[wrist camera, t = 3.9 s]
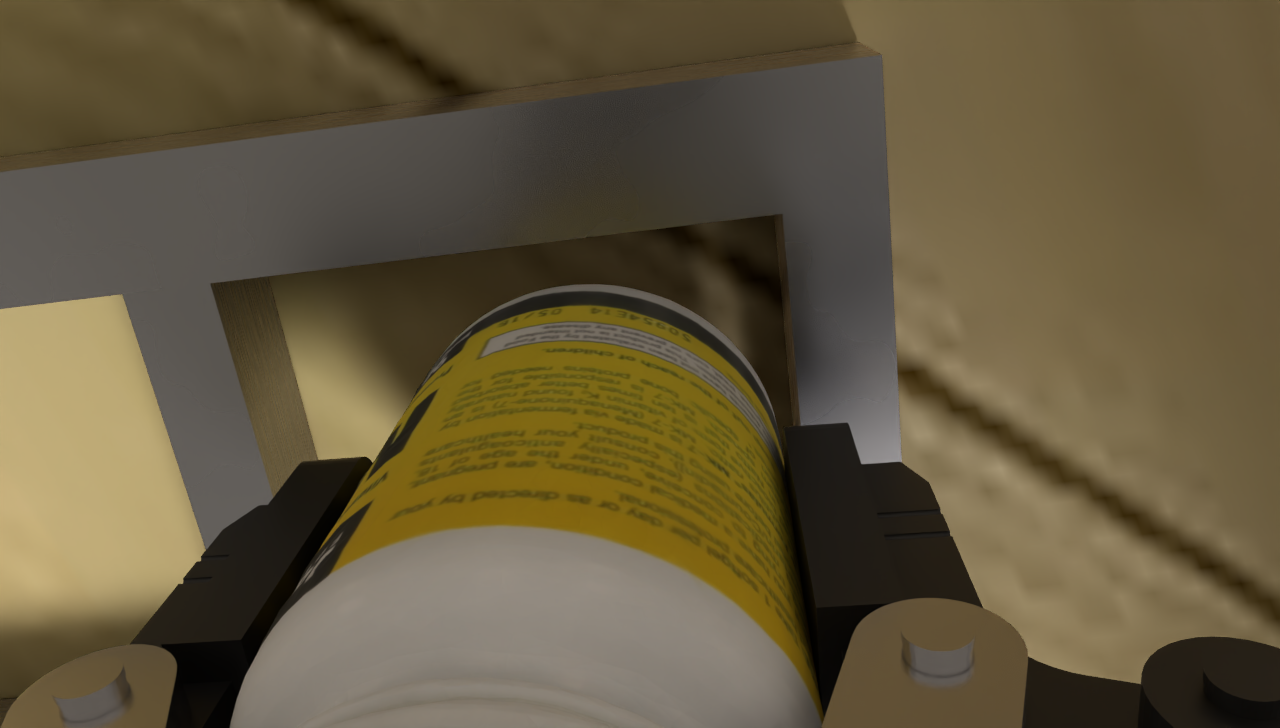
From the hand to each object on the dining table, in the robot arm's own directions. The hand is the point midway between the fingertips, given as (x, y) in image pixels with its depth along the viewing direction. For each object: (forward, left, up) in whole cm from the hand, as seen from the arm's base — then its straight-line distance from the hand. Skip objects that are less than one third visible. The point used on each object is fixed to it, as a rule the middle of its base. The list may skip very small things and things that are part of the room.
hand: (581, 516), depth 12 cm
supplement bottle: (0, 0, -2) cm, 2 cm away
